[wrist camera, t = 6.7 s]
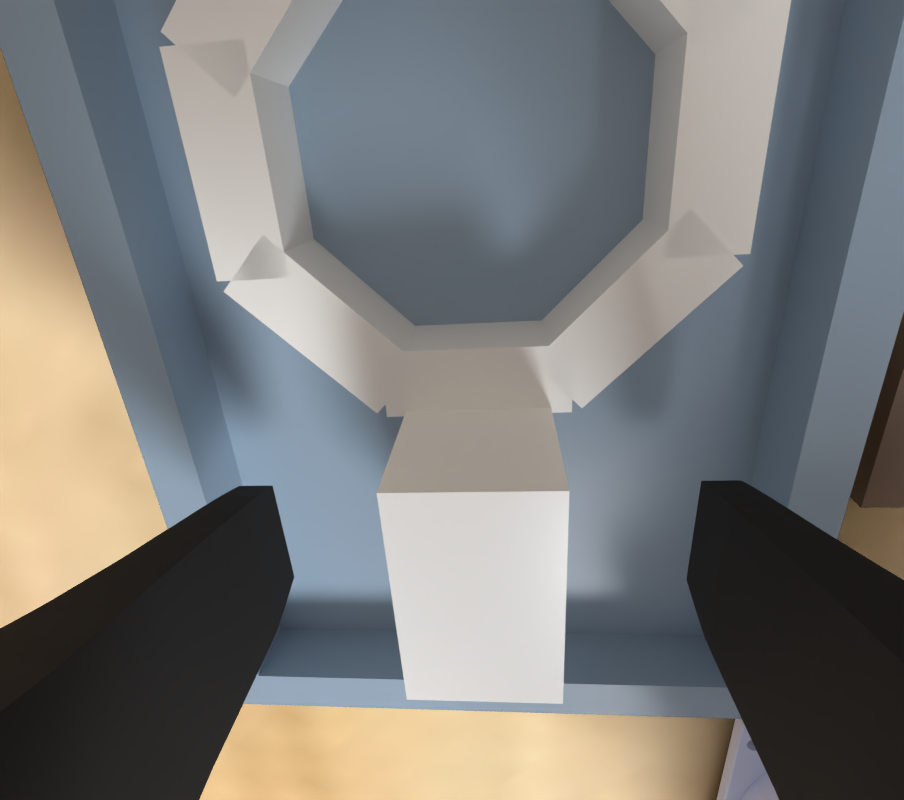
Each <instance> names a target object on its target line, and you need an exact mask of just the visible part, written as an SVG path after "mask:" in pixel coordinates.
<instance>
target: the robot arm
mask: <svg viewBox="0 0 904 800" xmlns="http://www.w3.org/2000/svg"><path fill="white" fill-rule="evenodd" d="M293 580H294V573H293V569H292V565H291V561H290V556H289V552H288V548H287V544H286V540H285V535H284V531H283V527H282V523H281V519H280V515H279V510H278V506H277V502H276V498H275V494H274V489H273V486H238V487H236V488H234V489H232V490H231V491H229V492H227V493H225V494H223V495H222V496H220V497H218V498H217V499H215V500H213V501H212V502H210V503H208V504H207V505H205V506H203V507H202V508H200V509H199V510H197V511H196V512H194V513H192V514H191V515H189V516H188V517H186V518H185V519H183V520H181V521H180V522H178V523H177V524H175V525H174V526H172V527H171V528H169V529H167V530H166V531H164V532H163V533H161V534H160V535H158V536H156V537H155V538H153V539H152V540H150V541H149V542H147V543H145V544H144V545H142V546H141V547H139V548H138V549H136V550H134V551H133V552H131V553H130V554H128V555H127V556H125V557H123V558H122V559H120V560H118V561H117V562H115V563H113V564H112V565H110V566H108V567H107V568H105V569H103V570H102V571H100V572H98V573H97V574H95V575H93V576H92V577H90V578H88V579H87V580H85V581H83V582H82V583H80V584H78V585H77V586H75V587H73V588H72V589H70V590H68V591H67V592H65V593H63V594H62V595H60V596H58V597H56V598H55V599H53V600H51V601H50V602H48V603H46V604H44V605H43V606H41V607H39V608H37V609H35V610H34V611H32V612H30V613H28V614H26V615H25V616H23V617H21V618H19V619H17V620H15V621H13V622H12V623H10V624H8V625H6V626H4V627H2V628H0V800H199V799H200V796H201V794H202V792H203V789H204V787H205V785H206V782H207V780H208V778H209V775H210V773H211V771H212V768H213V766H214V764H215V762H216V760H217V758H218V756H219V754H220V751H221V749H222V747H223V745H224V743H225V741H226V739H227V737H228V735H229V733H230V730H231V728H232V726H233V724H234V722H235V720H236V718H237V716H238V714H239V711H240V709H241V707H242V705H243V703H244V701H245V699H246V697H247V695H248V693H249V690H250V688H251V686H252V684H253V682H254V680H255V678H256V676H257V674H258V671H259V669H260V667H261V665H262V663H263V661H264V658H265V656H266V654H267V652H268V650H269V648H270V646H271V643H272V641H273V639H274V637H275V634H276V632H277V630H278V627H279V624H280V621H281V618H282V615H283V612H284V609H285V606H286V603H287V599H288V596H289V593H290V590H291V586H292V583H293ZM686 580H687V583H688V586H689V590H690V593H691V596H692V600H693V603H694V606H695V609H696V613H697V616H698V619H699V622H700V625H701V628H702V631H703V634H704V637H705V639H706V642H707V644H708V646H709V648H710V651H711V653H712V655H713V657H714V660H715V662H716V664H717V666H718V668H719V671H720V673H721V675H722V677H723V679H724V681H725V684H726V686H727V688H728V690H729V692H730V695H731V697H732V699H733V701H734V703H735V705H736V707H737V710H738V712H739V714H740V716H741V718H742V719H735V723H734V727H733V731H732V736H731V740H730V744H729V749H728V753H727V757H726V761H725V766H724V770H723V774H722V779H721V783H720V787H719V791H718V796H717V800H904V580H902V579H901V578H899V577H897V576H896V575H894V574H892V573H891V572H889V571H887V570H886V569H884V568H882V567H881V566H879V565H877V564H876V563H874V562H872V561H871V560H869V559H868V558H866V557H864V556H863V555H861V554H859V553H858V552H856V551H855V550H853V549H851V548H850V547H848V546H847V545H845V544H843V543H842V542H840V541H839V540H837V539H835V538H834V537H832V536H831V535H829V534H827V533H826V532H824V531H823V530H821V529H820V528H818V527H816V526H815V525H813V524H812V523H810V522H809V521H807V520H805V519H804V518H802V517H801V516H799V515H798V514H796V513H795V512H793V511H791V510H790V509H788V508H787V507H785V506H783V505H782V504H780V503H779V502H777V501H776V500H774V499H772V498H771V497H769V496H767V495H766V494H764V493H763V492H761V491H759V490H758V489H756V488H754V487H752V486H751V485H749V484H747V483H745V482H743V481H741V480H725V481H701V486H700V493H699V499H698V506H697V512H696V519H695V526H694V532H693V539H692V545H691V552H690V559H689V565H688V572H687V578H686Z"/></svg>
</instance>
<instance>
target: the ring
mask: <svg viewBox="0 0 904 800" xmlns="http://www.w3.org/2000/svg"><path fill="white" fill-rule="evenodd" d="M342 1H343V0H176V2H175V4H174V6H173V8H172V10H171V12H170V14H169V16H168V18H167V20H166V22H165V24H164V25H163V27H162V29H161V31H160V32H161V33H163V34H164V35H165V36H166V37H167V38H168V39H169V40H170V41H171V42H173V43H174V44H175V45H172V46H162V47H159V48H160V52H161V56H162V60H163V64H164V68H165V73H166V77H167V81H168V85H169V89H170V93H171V97H172V101H173V105H174V109H175V113H176V117H177V121H178V125H179V130H180V134H181V138H182V142H183V146H184V150H185V154H186V158H187V162H188V166H189V170H190V174H191V178H192V183H193V187H194V191H195V195H196V199H197V203H198V207H199V211H200V215H201V219H202V223H203V227H204V231H205V235H206V240H207V244H208V248H209V252H210V256H211V260H212V264H213V268H214V272H215V276H216V280H217V281H230V283H229V284H228V286H227V287H226V289H225V290H224V291H223V292H224V293H226V294H227V295H228V296H230V297H231V298H232V299H233V300H235V301H236V302H237V303H238V304H240V305H241V306H242V307H243V308H245V309H246V310H247V311H248V312H250V313H251V314H252V315H253V316H255V317H256V318H257V319H259V320H260V321H261V322H262V323H264V324H265V325H266V326H267V327H269V328H270V329H271V330H272V331H274V332H275V333H276V334H277V335H279V336H280V337H281V338H282V339H284V340H285V341H286V342H288V343H289V344H290V345H291V346H293V347H294V348H295V349H296V350H298V351H299V352H300V353H301V354H303V355H304V356H305V357H306V358H308V359H309V360H310V361H311V362H313V363H314V364H315V365H317V366H318V367H319V368H320V369H322V370H323V371H324V372H325V373H327V374H328V375H329V376H330V377H332V378H333V379H334V380H335V381H337V382H338V383H339V384H340V385H342V386H343V387H344V388H346V389H347V390H348V391H349V392H351V393H352V394H353V395H354V396H356V397H357V398H358V399H359V400H361V401H362V402H363V403H364V404H366V405H367V406H368V407H369V408H371V409H372V410H373V411H375V412H376V413H378V412H379V411H380V410H381V409H382V408H383V407H384V406H385V405H386V413H387V417H402V416H404V418H403V421H402V424H401V427H400V429H399V432H398V435H397V438H396V440H395V443H394V446H393V449H392V452H391V454H390V457H389V460H388V463H387V465H386V468H385V471H384V474H383V477H382V479H381V482H380V485H379V488H378V490H377V500H378V507H379V513H380V520H381V527H382V534H383V541H384V548H385V554H386V561H387V568H388V575H389V582H390V589H391V595H392V602H393V609H394V616H395V623H396V630H397V636H398V643H399V650H400V657H401V664H402V670H403V677H404V684H405V691H406V698H407V700H437V701H474V702H510V703H547V704H563V686H564V654H565V621H566V589H567V556H568V523H569V487H568V482H567V477H566V473H565V468H564V464H563V459H562V455H561V450H560V446H559V441H558V437H557V432H556V427H555V423H554V418H553V414H552V413H563V412H572V400H573V401H574V402H576V403H577V404H578V405H579V406H580V407H581V408H583V407H584V406H585V405H586V404H588V403H589V402H590V401H591V400H592V399H593V398H594V397H595V396H597V395H598V394H599V393H600V392H601V391H602V390H603V389H605V388H606V387H607V386H608V385H609V384H610V383H611V382H612V381H614V380H615V379H616V378H617V377H618V376H619V375H620V374H622V373H623V372H624V371H625V370H626V369H627V368H628V367H629V366H631V365H632V364H633V363H634V362H635V361H636V360H637V359H639V358H640V357H641V356H642V355H643V354H644V353H645V352H646V351H648V350H649V349H650V348H651V347H652V346H653V345H654V344H656V343H657V342H658V341H659V340H660V339H661V338H662V337H663V336H665V335H666V334H667V333H668V332H669V331H670V330H671V329H673V328H674V327H675V326H676V325H677V324H678V323H679V322H680V321H682V320H683V319H684V318H685V317H686V316H687V315H688V314H690V313H691V312H692V311H693V310H694V309H695V308H696V307H697V306H699V305H700V304H701V303H702V302H703V301H704V300H705V299H707V298H708V297H709V296H710V295H711V294H712V293H713V292H714V291H716V290H717V289H718V288H719V287H720V286H721V285H722V284H724V283H725V282H726V281H727V280H728V279H729V278H730V277H731V276H733V275H734V274H735V273H736V272H737V271H738V270H739V269H741V268H742V267H743V265H742V264H741V263H740V261H739V260H738V259H737V258H736V257H735V256H734V255H740V254H750V253H751V247H752V240H753V234H754V228H755V222H756V216H757V209H758V203H759V197H760V191H761V185H762V178H763V172H764V166H765V160H766V154H767V147H768V141H769V135H770V129H771V123H772V116H773V110H774V104H775V98H776V92H777V86H778V79H779V73H780V67H781V61H782V55H783V48H784V42H785V36H786V30H787V24H788V17H789V11H790V5H791V0H609V2H610V3H611V4H612V5H613V6H614V7H615V8H616V10H617V11H618V12H619V13H620V14H621V15H622V17H623V18H624V19H625V20H626V21H627V22H628V24H629V25H630V26H631V27H632V28H633V29H634V30H635V32H636V33H637V34H638V35H639V36H640V37H641V39H642V40H643V41H644V42H645V43H646V44H647V45H648V47H649V48H650V49H651V50H652V51H653V52H654V54H655V66H654V79H653V91H652V104H651V117H650V130H649V143H648V155H647V168H646V181H645V194H644V207H643V219H642V221H641V222H640V223H639V224H638V225H637V226H636V227H635V228H634V229H633V230H632V231H631V232H630V233H629V234H628V235H627V236H626V237H625V238H624V239H623V240H622V241H621V242H620V243H619V244H618V245H617V246H616V247H615V248H614V249H613V250H612V251H611V252H610V253H609V254H608V255H607V256H606V257H605V258H604V259H603V260H602V261H601V262H600V263H599V264H598V265H597V266H596V267H595V268H594V269H593V270H592V271H591V272H590V273H589V274H588V275H587V276H586V277H585V278H584V279H583V280H582V281H581V282H580V283H579V284H578V285H577V286H576V287H575V288H574V289H573V290H572V291H571V292H570V293H569V294H568V295H567V296H566V297H565V298H564V299H563V300H562V301H561V302H560V303H559V304H558V305H557V306H556V307H555V308H554V309H553V310H552V311H551V312H550V313H549V314H548V315H547V316H546V317H545V318H544V319H543V320H540V321H516V322H492V323H468V324H444V325H419V326H415V325H414V324H412V323H411V322H410V321H409V320H408V319H407V318H405V317H404V316H403V315H402V314H401V313H400V312H398V311H397V310H396V309H395V308H394V307H393V306H391V305H390V304H389V303H388V302H387V301H386V300H384V299H383V298H382V297H381V296H380V295H379V294H377V293H376V292H375V291H374V290H373V289H372V288H370V287H369V286H368V285H367V284H366V283H365V282H363V281H362V280H361V279H360V278H359V277H358V276H356V275H355V274H354V273H353V272H352V271H351V270H349V269H348V268H347V267H346V266H345V265H344V264H342V263H341V262H340V261H339V260H338V259H337V258H335V257H334V256H333V255H332V254H331V253H330V252H328V251H327V250H326V249H325V248H324V247H323V246H321V245H320V244H319V243H318V242H317V241H316V240H314V237H313V231H312V225H311V219H310V213H309V207H308V200H307V194H306V188H305V182H304V176H303V170H302V164H301V158H300V152H299V146H298V140H297V134H296V128H295V122H294V116H293V110H292V104H291V98H290V92H289V85H290V84H291V82H292V81H293V79H294V77H295V76H296V74H297V73H298V71H299V69H300V68H301V66H302V65H303V63H304V61H305V60H306V58H307V57H308V55H309V54H310V52H311V50H312V49H313V47H314V46H315V44H316V42H317V41H318V39H319V38H320V36H321V34H322V33H323V31H324V30H325V28H326V26H327V25H328V23H329V22H330V20H331V18H332V17H333V15H334V14H335V12H336V10H337V9H338V7H339V6H340V4H341V2H342Z"/></svg>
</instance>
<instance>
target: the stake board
mask: <svg viewBox="0 0 904 800" xmlns="http://www.w3.org/2000/svg"><path fill="white" fill-rule="evenodd" d="M850 497H851V498H852V499H853V500H854V501H855V502H856V503H857V504H858V505H859V506H860V507H861V508H869V507H904V312H903V316H902V319H901V323H900V326H899V330H898V333H897V336H896V340H895V343H894V347H893V350H892V354H891V357H890V360H889V364H888V367H887V371H886V374H885V378H884V381H883V385H882V388H881V391H880V395H879V398H878V402H877V405H876V409H875V412H874V415H873V419H872V422H871V426H870V429H869V433H868V436H867V440H866V443H865V446H864V450H863V453H862V457H861V460H860V464H859V467H858V470H857V474H856V477H855V481H854V484H853V488H852V491H851V494H850Z"/></svg>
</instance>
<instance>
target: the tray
mask: <svg viewBox="0 0 904 800" xmlns="http://www.w3.org/2000/svg"><path fill="white" fill-rule="evenodd" d="M175 2H176V0H0V48H1V51H2V54H3V56H4V59H5V62H6V65H7V68H8V71H9V74H10V77H11V79H12V82H13V85H14V88H15V91H16V94H17V97H18V100H19V102H20V105H21V108H22V111H23V114H24V117H25V120H26V123H27V125H28V128H29V131H30V134H31V137H32V140H33V143H34V146H35V148H36V151H37V154H38V157H39V160H40V163H41V166H42V169H43V171H44V174H45V177H46V180H47V183H48V186H49V189H50V192H51V194H52V197H53V200H54V203H55V206H56V209H57V212H58V215H59V217H60V220H61V223H62V226H63V229H64V232H65V235H66V238H67V240H68V243H69V246H70V249H71V252H72V255H73V258H74V261H75V263H76V266H77V269H78V272H79V275H80V278H81V281H82V284H83V286H84V289H85V292H86V295H87V298H88V301H89V304H90V307H91V309H92V312H93V315H94V318H95V321H96V324H97V327H98V330H99V332H100V335H101V338H102V341H103V344H104V347H105V350H106V353H107V355H108V358H109V361H110V364H111V367H112V370H113V373H114V376H115V378H116V381H117V384H118V387H119V390H120V393H121V396H122V399H123V401H124V404H125V407H126V410H127V413H128V416H129V419H130V422H131V424H132V427H133V430H134V433H135V436H136V439H137V442H138V445H139V447H140V450H141V453H142V456H143V459H144V462H145V465H146V468H147V470H148V473H149V476H150V479H151V482H152V485H153V488H154V491H155V493H156V496H157V499H158V502H159V505H160V508H161V511H162V514H163V516H164V519H165V522H166V525H167V528H168V529H169V528H171V527H172V526H174V525H175V524H177V523H178V522H180V521H181V520H183V519H185V518H186V517H188V516H189V515H191V514H192V513H194V512H196V511H197V510H199V509H200V508H202V507H203V506H205V505H207V504H208V503H210V502H212V501H213V500H215V499H217V498H218V497H220V496H222V495H223V494H225V493H227V492H229V491H231V490H232V489H234V488H236V487H238V486H273V489H274V494H275V498H276V502H277V506H278V510H279V515H280V519H281V523H282V527H283V531H284V535H285V540H286V544H287V548H288V552H289V556H290V561H291V565H292V569H293V573H294V580H293V583H292V586H291V590H290V593H289V596H288V599H287V603H286V606H285V609H284V612H283V615H282V618H281V621H280V624H279V627H278V630H277V632H276V634H275V637H274V639H273V641H272V643H271V646H270V648H269V650H268V652H267V654H266V656H265V658H264V661H263V663H262V665H261V667H260V669H259V671H258V674H257V676H256V678H255V680H254V682H253V684H252V686H251V688H250V690H249V693H248V695H247V697H246V699H245V701H244V703H243V704H265V705H298V706H331V707H364V708H398V709H431V710H464V711H497V712H530V713H564V714H597V715H630V716H663V717H696V718H730V719H742V718H741V716H740V714H739V712H738V710H737V707H736V705H735V703H734V701H733V699H732V697H731V695H730V692H729V690H728V688H727V686H726V684H725V681H724V679H723V677H722V675H721V673H720V671H719V668H718V666H717V664H716V662H715V660H714V657H713V655H712V653H711V651H710V648H709V646H708V644H707V642H706V639H705V637H704V634H703V631H702V628H701V625H700V622H699V619H698V616H697V613H696V609H695V606H694V603H693V600H692V596H691V593H690V590H689V586H688V583H687V580H686V578H687V572H688V565H689V559H690V552H691V545H692V539H693V532H694V526H695V519H696V512H697V506H698V499H699V493H700V486H701V481H725V480H741V481H743V482H745V483H747V484H749V485H751V486H752V487H754V488H756V489H758V490H759V491H761V492H763V493H764V494H766V495H767V496H769V497H771V498H772V499H774V500H776V501H777V502H779V503H780V504H782V505H783V506H785V507H787V508H788V509H790V510H791V511H793V512H795V513H796V514H798V515H799V516H801V517H802V518H804V519H805V520H807V521H809V522H810V523H812V524H813V525H815V526H816V527H818V528H820V529H821V530H823V531H824V532H826V533H827V534H829V535H831V536H832V537H834V538H835V539H838V536H839V532H840V529H841V525H842V522H843V519H844V515H845V512H846V508H847V505H848V501H849V498H850V494H851V491H852V488H853V484H854V481H855V477H856V474H857V470H858V467H859V464H860V460H861V457H862V453H863V450H864V446H865V443H866V440H867V436H868V433H869V429H870V426H871V422H872V419H873V415H874V412H875V409H876V405H877V402H878V398H879V395H880V391H881V388H882V385H883V381H884V378H885V374H886V371H887V367H888V364H889V360H890V357H891V354H892V350H893V347H894V343H895V340H896V336H897V333H898V330H899V326H900V323H901V319H902V316H903V312H904V0H791V5H790V11H789V17H788V24H787V30H786V36H785V42H784V48H783V55H782V61H781V67H780V73H779V79H778V86H777V92H776V98H775V104H774V110H773V116H772V123H771V129H770V135H769V141H768V147H767V154H766V160H765V166H764V172H763V178H762V185H761V191H760V197H759V203H758V209H757V216H756V222H755V228H754V234H753V240H752V247H751V253H750V254H740V255H734V256H735V257H736V258H737V259H738V260H739V261H740V263H741V264H742V265H743V267H742V268H741V269H739V270H738V271H737V272H736V273H735V274H734V275H733V276H731V277H730V278H729V279H728V280H727V281H726V282H725V283H724V284H722V285H721V286H720V287H719V288H718V289H717V290H716V291H714V292H713V293H712V294H711V295H710V296H709V297H708V298H707V299H705V300H704V301H703V302H702V303H701V304H700V305H699V306H697V307H696V308H695V309H694V310H693V311H692V312H691V313H690V314H688V315H687V316H686V317H685V318H684V319H683V320H682V321H680V322H679V323H678V324H677V325H676V326H675V327H674V328H673V329H671V330H670V331H669V332H668V333H667V334H666V335H665V336H663V337H662V338H661V339H660V340H659V341H658V342H657V343H656V344H654V345H653V346H652V347H651V348H650V349H649V350H648V351H646V352H645V353H644V354H643V355H642V356H641V357H640V358H639V359H637V360H636V361H635V362H634V363H633V364H632V365H631V366H629V367H628V368H627V369H626V370H625V371H624V372H623V373H622V374H620V375H619V376H618V377H617V378H616V379H615V380H614V381H612V382H611V383H610V384H609V385H608V386H607V387H606V388H605V389H603V390H602V391H601V392H600V393H599V394H598V395H597V396H595V397H594V398H593V399H592V400H591V401H590V402H589V403H588V404H586V405H585V406H584V407H583V408H581V407H580V406H579V405H578V404H577V403H576V402H574V401H573V400H572V412H563V413H552V414H553V418H554V423H555V427H556V432H557V437H558V441H559V446H560V450H561V455H562V459H563V464H564V468H565V473H566V477H567V482H568V487H569V523H568V556H567V589H566V621H565V654H564V686H563V704H547V703H510V702H474V701H437V700H407V698H406V691H405V684H404V677H403V670H402V664H401V657H400V650H399V643H398V636H397V630H396V623H395V616H394V609H393V602H392V595H391V589H390V582H389V575H388V568H387V561H386V554H385V548H384V541H383V534H382V527H381V520H380V513H379V507H378V500H377V490H378V488H379V485H380V482H381V479H382V477H383V474H384V471H385V468H386V465H387V463H388V460H389V457H390V454H391V452H392V449H393V446H394V443H395V440H396V438H397V435H398V432H399V429H400V427H401V424H402V421H403V418H404V416H402V417H387V413H386V405H385V406H384V407H383V408H382V409H381V410H380V411H379V412H378V413H376V412H375V411H373V410H372V409H371V408H369V407H368V406H367V405H366V404H364V403H363V402H362V401H361V400H359V399H358V398H357V397H356V396H354V395H353V394H352V393H351V392H349V391H348V390H347V389H346V388H344V387H343V386H342V385H340V384H339V383H338V382H337V381H335V380H334V379H333V378H332V377H330V376H329V375H328V374H327V373H325V372H324V371H323V370H322V369H320V368H319V367H318V366H317V365H315V364H314V363H313V362H311V361H310V360H309V359H308V358H306V357H305V356H304V355H303V354H301V353H300V352H299V351H298V350H296V349H295V348H294V347H293V346H291V345H290V344H289V343H288V342H286V341H285V340H284V339H282V338H281V337H280V336H279V335H277V334H276V333H275V332H274V331H272V330H271V329H270V328H269V327H267V326H266V325H265V324H264V323H262V322H261V321H260V320H259V319H257V318H256V317H255V316H253V315H252V314H251V313H250V312H248V311H247V310H246V309H245V308H243V307H242V306H241V305H240V304H238V303H237V302H236V301H235V300H233V299H232V298H231V297H230V296H228V295H227V294H226V293H224V292H223V291H224V290H225V289H226V287H227V286H228V284H229V283H230V281H217V280H216V276H215V272H214V268H213V264H212V260H211V256H210V252H209V248H208V244H207V240H206V235H205V231H204V227H203V223H202V219H201V215H200V211H199V207H198V203H197V199H196V195H195V191H194V187H193V183H192V178H191V174H190V170H189V166H188V162H187V158H186V154H185V150H184V146H183V142H182V138H181V134H180V130H179V125H178V121H177V117H176V113H175V109H174V105H173V101H172V97H171V93H170V89H169V85H168V81H167V77H166V73H165V68H164V64H163V60H162V56H161V52H160V48H159V47H162V46H172V45H175V44H174V43H173V42H171V41H170V40H169V39H168V38H167V37H166V36H165V35H164V34H163V33H161V32H160V31H161V29H162V27H163V25H164V24H165V22H166V20H167V18H168V16H169V14H170V12H171V10H172V8H173V6H174V4H175ZM654 66H655V54H654V52H653V51H652V50H651V49H650V48H649V47H648V45H647V44H646V43H645V42H644V41H643V40H642V39H641V37H640V36H639V35H638V34H637V33H636V32H635V30H634V29H633V28H632V27H631V26H630V25H629V24H628V22H627V21H626V20H625V19H624V18H623V17H622V15H621V14H620V13H619V12H618V11H617V10H616V8H615V7H614V6H613V5H612V4H611V3H610V2H609V0H343V1H342V2H341V4H340V6H339V7H338V9H337V10H336V12H335V14H334V15H333V17H332V18H331V20H330V22H329V23H328V25H327V26H326V28H325V30H324V31H323V33H322V34H321V36H320V38H319V39H318V41H317V42H316V44H315V46H314V47H313V49H312V50H311V52H310V54H309V55H308V57H307V58H306V60H305V61H304V63H303V65H302V66H301V68H300V69H299V71H298V73H297V74H296V76H295V77H294V79H293V81H292V82H291V84H290V85H289V92H290V98H291V104H292V110H293V116H294V122H295V128H296V134H297V140H298V146H299V152H300V158H301V164H302V170H303V176H304V182H305V188H306V194H307V200H308V207H309V213H310V219H311V225H312V231H313V237H314V240H316V241H317V242H318V243H319V244H320V245H321V246H323V247H324V248H325V249H326V250H327V251H328V252H330V253H331V254H332V255H333V256H334V257H335V258H337V259H338V260H339V261H340V262H341V263H342V264H344V265H345V266H346V267H347V268H348V269H349V270H351V271H352V272H353V273H354V274H355V275H356V276H358V277H359V278H360V279H361V280H362V281H363V282H365V283H366V284H367V285H368V286H369V287H370V288H372V289H373V290H374V291H375V292H376V293H377V294H379V295H380V296H381V297H382V298H383V299H384V300H386V301H387V302H388V303H389V304H390V305H391V306H393V307H394V308H395V309H396V310H397V311H398V312H400V313H401V314H402V315H403V316H404V317H405V318H407V319H408V320H409V321H410V322H411V323H412V324H414V325H415V326H419V325H444V324H468V323H492V322H516V321H540V320H543V319H544V318H545V317H546V316H547V315H548V314H549V313H550V312H551V311H552V310H553V309H554V308H555V307H556V306H557V305H558V304H559V303H560V302H561V301H562V300H563V299H564V298H565V297H566V296H567V295H568V294H569V293H570V292H571V291H572V290H573V289H574V288H575V287H576V286H577V285H578V284H579V283H580V282H581V281H582V280H583V279H584V278H585V277H586V276H587V275H588V274H589V273H590V272H591V271H592V270H593V269H594V268H595V267H596V266H597V265H598V264H599V263H600V262H601V261H602V260H603V259H604V258H605V257H606V256H607V255H608V254H609V253H610V252H611V251H612V250H613V249H614V248H615V247H616V246H617V245H618V244H619V243H620V242H621V241H622V240H623V239H624V238H625V237H626V236H627V235H628V234H629V233H630V232H631V231H632V230H633V229H634V228H635V227H636V226H637V225H638V224H639V223H640V222H641V221H642V219H643V207H644V194H645V181H646V168H647V155H648V143H649V130H650V117H651V104H652V91H653V79H654Z"/></svg>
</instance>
